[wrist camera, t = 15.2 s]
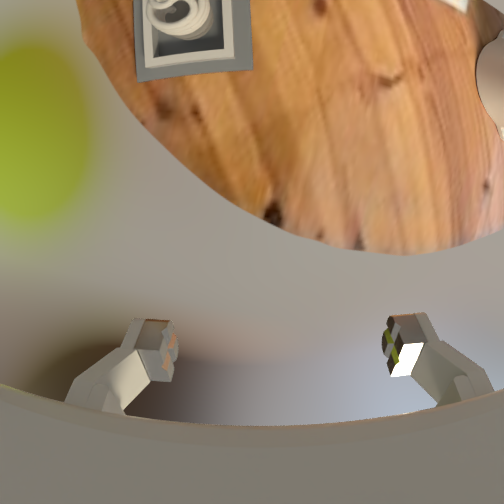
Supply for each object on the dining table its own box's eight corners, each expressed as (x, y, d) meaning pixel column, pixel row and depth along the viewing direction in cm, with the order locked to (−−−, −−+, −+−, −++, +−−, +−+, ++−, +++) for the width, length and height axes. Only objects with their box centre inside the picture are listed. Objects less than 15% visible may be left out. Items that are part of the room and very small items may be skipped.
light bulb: (165, 39, 31) (128, 23, 20) (181, -1, 28) (152, -32, 18) (209, 50, 32) (189, 35, 21) (225, 9, 29) (213, -22, 19)
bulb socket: (248, -23, 28) (247, -33, 24) (253, 70, 34) (253, 68, 31) (137, -7, 28) (126, -15, 25) (141, 82, 35) (130, 82, 31)
